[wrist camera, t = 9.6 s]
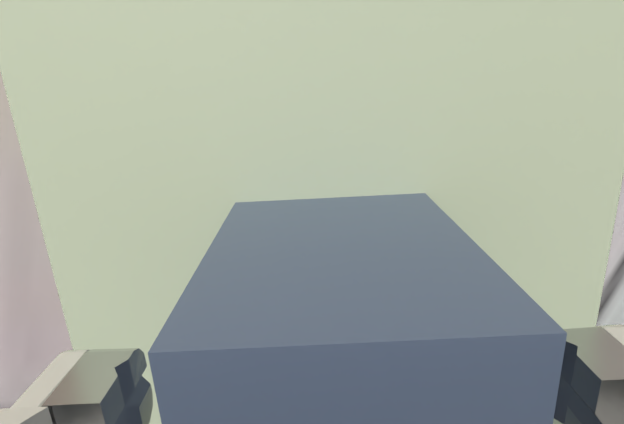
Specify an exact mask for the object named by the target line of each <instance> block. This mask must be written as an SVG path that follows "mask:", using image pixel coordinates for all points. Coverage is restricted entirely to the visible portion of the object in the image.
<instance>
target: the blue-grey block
mask: <svg viewBox="0 0 624 424" xmlns="http://www.w3.org/2000/svg"><path fill="white" fill-rule="evenodd" d="M566 338H567V332H566V331H565V330H563V329H562V328H561V327H560V326H559V325H558V324H557V323H556V322H555V321H554V320H553V319H552V318H551V317H550V316H549V315H548V314H547V313H546V312H545V311H544V310H543V309H542V308H541V307H540V306H539V305H538V304H537V303H536V302H535V301H534V300H533V299H532V298H531V297H530V296H529V295H528V294H527V293H526V292H525V291H524V290H523V289H522V288H521V287H520V286H519V285H518V284H517V283H516V282H515V281H514V280H513V279H512V278H511V277H510V276H509V275H508V274H507V273H506V272H505V271H504V270H503V269H502V268H501V267H500V266H499V265H498V264H497V263H496V262H495V261H494V260H493V259H491V258H490V257H489V256H488V255H487V254H486V253H485V252H484V251H483V250H482V249H481V248H480V247H479V246H478V245H477V244H476V243H475V242H474V241H473V240H472V239H471V238H470V237H469V236H468V235H467V234H466V233H465V232H464V231H463V230H462V229H461V228H460V227H459V226H458V225H457V224H456V223H455V222H454V221H453V220H452V219H451V218H450V217H449V216H448V215H447V214H446V213H445V212H444V211H443V210H442V209H441V208H440V207H439V206H438V205H437V204H436V203H435V202H434V201H433V200H432V199H431V198H430V197H429V196H428V195H427V194H426V193H417V194H397V195H376V196H356V197H336V198H316V199H295V200H275V201H255V202H235V204H234V205H233V207H232V209H231V211H230V212H229V214H228V216H227V217H226V219H225V221H224V223H223V224H222V226H221V228H220V229H219V231H218V233H217V235H216V236H215V238H214V240H213V241H212V243H211V245H210V247H209V248H208V250H207V252H206V254H205V255H204V257H203V259H202V260H201V262H200V264H199V266H198V267H197V269H196V271H195V272H194V274H193V276H192V278H191V279H190V281H189V283H188V284H187V286H186V288H185V290H184V291H183V293H182V295H181V296H180V298H179V300H178V302H177V303H176V305H175V307H174V309H173V310H172V312H171V314H170V315H169V317H168V319H167V321H166V322H165V324H164V326H163V327H162V329H161V331H160V333H159V334H158V336H157V338H156V339H155V341H154V343H153V345H152V346H151V348H150V350H149V351H148V358H149V363H150V368H151V373H152V378H153V383H154V388H155V393H156V398H157V403H158V408H159V413H160V418H161V423H162V424H553V420H554V413H555V407H556V401H557V394H558V388H559V382H560V375H561V369H562V363H563V357H564V350H565V344H566Z"/></svg>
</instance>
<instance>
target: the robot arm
mask: <svg viewBox="0 0 624 424" xmlns="http://www.w3.org/2000/svg"><path fill="white" fill-rule="evenodd" d="M563 330H565V331H566V332H567V338H566V344H565V350H564V357H563V363H562V369H561V375H560V382H559V388H558V394H557V401H556V407H555V413H554V419H556V420H557V421H559V422H561V423H562V424H624V325H621V324H619V325H606V326H595V327H586V328H570V329H563ZM146 367H147V363H146V359H145V355H144V352H143V351H142V350H141V349H139V348H128V349H92V350H88V349H87V350H68V351H65V352H62V353H60V354H59V355H58V356H57V357H56V358H55V359H54V360H53V362H52V363H51V364H50V365H49V366H48V367H47V368H46V369H45V370H44V371H43V372H42V374H41V375H40V376H39V377H38V378H37V379H36V380H35V381H34V382H33V383H32V385H31V386H30V387H29V388H28V389H27V390H26V391H25V392H24V393H23V394H22V396H21V397H20V398H19V399H18V400H17V401H16V402H15V403H14V404H13V405H12V406H11V408H6V409H0V424H149V422H150V418H151V413H152V408H153V393H152V388H151V384H150V383H149V382H148V381H147V380H146V379H145V378H144V377H143V376H142V374H143V372H144V371H145V369H146Z"/></svg>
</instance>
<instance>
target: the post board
mask: <svg viewBox="0 0 624 424" xmlns="http://www.w3.org/2000/svg"><path fill="white" fill-rule="evenodd" d="M0 71H1V75H2V79H3V83H4V87H5V91H6V94H7V98H8V102H9V106H10V110H11V114H12V117H13V121H14V125H15V129H16V133H17V137H18V140H19V144H20V148H21V152H22V156H23V160H24V163H25V167H26V171H27V175H28V179H29V183H30V186H31V190H32V194H33V198H34V202H35V206H36V209H37V213H38V217H39V221H40V225H41V229H42V232H43V236H44V240H45V244H46V248H47V252H48V255H49V259H50V263H51V267H52V271H53V275H54V278H55V282H56V286H57V290H58V294H59V298H60V301H61V305H62V309H63V313H64V317H65V321H66V324H67V328H68V332H69V336H70V340H71V344H72V347H73V350H87V349H88V350H92V349H128V348H139V349H141V350H142V351H143V352H144V355H145V359H146V363H147V367H146V369H145V371H144V372H143V374H142V376H143V377H144V378H145V379H146V380H147V381H148V382H149V383H150V384H151V388H152V393H153V408H152V413H151V418H150V422H149V424H162V423H161V418H160V413H159V408H158V403H157V398H156V393H155V388H154V383H153V378H152V373H151V368H150V363H149V358H148V351H149V350H150V348H151V346H152V345H153V343H154V341H155V339H156V338H157V336H158V334H159V333H160V331H161V329H162V327H163V326H164V324H165V322H166V321H167V319H168V317H169V315H170V314H171V312H172V310H173V309H174V307H175V305H176V303H177V302H178V300H179V298H180V296H181V295H182V293H183V291H184V290H185V288H186V286H187V284H188V283H189V281H190V279H191V278H192V276H193V274H194V272H195V271H196V269H197V267H198V266H199V264H200V262H201V260H202V259H203V257H204V255H205V254H206V252H207V250H208V248H209V247H210V245H211V243H212V241H213V240H214V238H215V236H216V235H217V233H218V231H219V229H220V228H221V226H222V224H223V223H224V221H225V219H226V217H227V216H228V214H229V212H230V211H231V209H232V207H233V205H234V204H235V202H255V201H275V200H295V199H316V198H336V197H356V196H376V195H397V194H417V193H426V194H427V195H428V196H429V197H430V198H431V199H432V200H433V201H434V202H435V203H436V204H437V205H438V206H439V207H440V208H441V209H442V210H443V211H444V212H445V213H446V214H447V215H448V216H449V217H450V218H451V219H452V220H453V221H454V222H455V223H456V224H457V225H458V226H459V227H460V228H461V229H462V230H463V231H464V232H465V233H466V234H467V235H468V236H469V237H470V238H471V239H472V240H473V241H474V242H475V243H476V244H477V245H478V246H479V247H480V248H481V249H482V250H483V251H484V252H485V253H486V254H487V255H488V256H489V257H490V258H491V259H493V260H494V261H495V262H496V263H497V264H498V265H499V266H500V267H501V268H502V269H503V270H504V271H505V272H506V273H507V274H508V275H509V276H510V277H511V278H512V279H513V280H514V281H515V282H516V283H517V284H518V285H519V286H520V287H521V288H522V289H523V290H524V291H525V292H526V293H527V294H528V295H529V296H530V297H531V298H532V299H533V300H534V301H535V302H536V303H537V304H538V305H539V306H540V307H541V308H542V309H543V310H544V311H545V312H546V313H547V314H548V315H549V316H550V317H551V318H552V319H553V320H554V321H555V322H556V323H557V324H558V325H559V326H560V327H561V328H562V329H570V328H586V327H595V326H596V322H597V317H598V311H599V306H600V300H601V295H602V289H603V284H604V278H605V273H606V267H607V262H608V256H609V251H610V245H611V239H612V234H613V228H614V223H615V217H616V212H617V206H618V201H619V195H620V190H621V184H622V179H623V173H624V0H0ZM553 424H562V423H561V422H559V421H557V420H556V419H554V420H553Z"/></svg>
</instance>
